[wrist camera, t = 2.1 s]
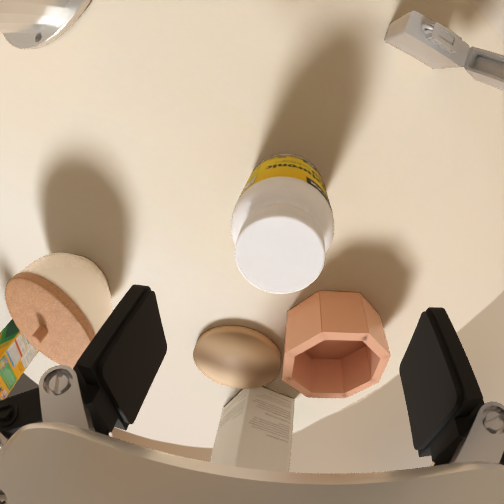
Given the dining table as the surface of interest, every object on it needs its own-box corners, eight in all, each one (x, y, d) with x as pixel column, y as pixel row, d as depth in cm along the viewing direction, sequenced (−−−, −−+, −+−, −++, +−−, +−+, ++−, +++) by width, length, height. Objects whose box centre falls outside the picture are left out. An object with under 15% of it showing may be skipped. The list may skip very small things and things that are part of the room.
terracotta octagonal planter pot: (289, 288, 26) (287, 329, 22) (386, 293, 25) (399, 333, 21) (283, 356, 30) (279, 395, 26) (365, 359, 29) (371, 397, 25)
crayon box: (16, 312, 35) (-28, 365, 25) (29, 320, 35) (-14, 375, 25) (26, 343, 39) (-10, 393, 29) (39, 351, 39) (4, 403, 29)
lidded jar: (37, 232, 27) (-21, 281, 19) (116, 236, 26) (55, 300, 18) (64, 311, 32) (24, 364, 24) (138, 326, 31) (102, 394, 23)
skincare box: (262, 423, 38) (246, 525, 25) (218, 406, 37) (192, 513, 24) (297, 397, 34) (288, 519, 21) (248, 378, 33) (224, 507, 20)
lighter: (383, 41, 16) (430, 20, 9) (390, 21, 15) (438, -7, 8) (465, 91, 16) (533, 102, 9) (472, 72, 15) (540, 77, 8)
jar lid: (190, 321, 30) (187, 327, 29) (283, 329, 28) (283, 337, 28) (200, 376, 34) (198, 383, 33) (278, 385, 33) (277, 392, 32)
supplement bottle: (338, 175, 21) (366, 240, 12) (299, 235, 24) (300, 323, 15) (270, 137, 20) (252, 176, 12) (235, 201, 23) (200, 276, 14)
